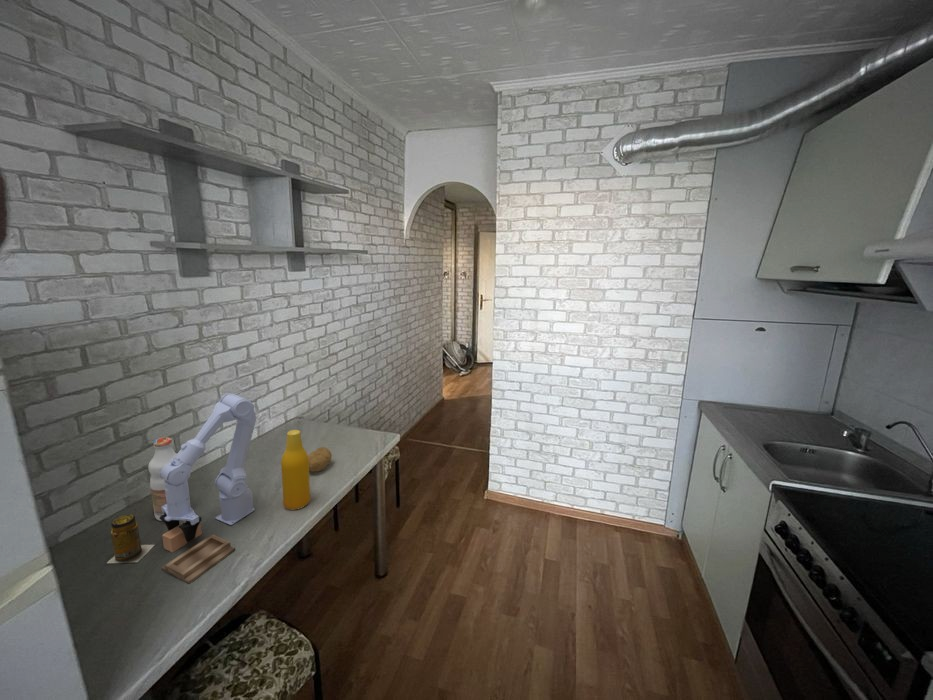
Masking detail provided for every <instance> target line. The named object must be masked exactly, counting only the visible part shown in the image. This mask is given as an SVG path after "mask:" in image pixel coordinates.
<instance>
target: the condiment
mask: <svg viewBox="0 0 933 700" xmlns="http://www.w3.org/2000/svg"><path fill="white" fill-rule="evenodd" d="M110 525H111V532H110V537H111V544H112V547H113V553H114V555H113V556H112V557H111V558H110V559H109V560H108V561H107V562H106V564H124V563H125V564H126V563H129V564H130V563H139V562H140V561H141V560H142V559H143V558H144V557H145V556H146V555H147V554H148V553H149V552H150V550H152V548H154V546H155V544H141V537H140V530H139V525H138V522H137V520H136V516H135V515H133V514H126V515H125V514H124V515H121V516H118V517H117V518H115V519H114V520H112V522H111V524H110Z"/></svg>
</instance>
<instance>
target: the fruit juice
mask: <svg viewBox="0 0 933 700" xmlns="http://www.w3.org/2000/svg"><path fill="white" fill-rule="evenodd" d="M172 444H173V440H172V438H171V437H160V438H157V439H155V440H153V443H152V445H153V448H154V455H153V457H152V458H151V460H149V463H148V467H147V468H148V469H147V470H148V472H149V474H150V477H149V478H150V479H149V486H150V492H151V499H152V500H151V501H152V506H153V514H154V517H155V519H156V520H157V521H159V522H163V521H162V520H161V519H160V516H162V515H164V512H162V508H161V507H162V506H164V505H166V504H167V502H166V494H165V484H164V479H163V478H161V477H160V475H159V473H161V469H162V468H163V467H164V465H166V464H167V463H169V462H170V461H171V459H173V458H174V457H175V456H176V455H177V453H178V452H175V450H174V448H173V446H172Z"/></svg>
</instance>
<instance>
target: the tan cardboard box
mask: <svg viewBox="0 0 933 700" xmlns="http://www.w3.org/2000/svg"><path fill="white" fill-rule="evenodd" d="M185 522H186V521H184V522H182V523H181V524H183V523H185ZM201 522H202V521H201ZM201 522H200V523H199V525H198V528H197V531H196V535H195V539H197V537H199V536H201V535H202V534H203V532H202V524H201ZM181 524H180V523H179V526H180V525H181ZM179 526H177V527H175V528H173V529H172V530H170V531H169V530H168V531H166V532H165V533H163V534H162V535H161V537H162V543H163V544H162V545H163V549H164V550H167V551H168V552H171V553H174V552H176V551H177V550H180V548H182V547H184V546H185V545H186V544H188V543H189V542H187V541H186V539H185V535H184V533H183V531H182V530H181V528H179Z"/></svg>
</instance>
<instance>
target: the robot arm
mask: <svg viewBox="0 0 933 700" xmlns="http://www.w3.org/2000/svg"><path fill="white" fill-rule="evenodd" d="M232 421H236V422H237V423H236V427H235V431H234V434H233V438H232V440H231V441H232V442H231V445H230V449H229V453H228V456H227V460H226V464H225V466H224V467H222V468H221V469H220V472H219V474H218V475H217V477H216V478H215V480H214V486H215V488H216V489H217V490H219V495H218V496H219V497H218V498H219V506H220V507H219V508H220V514H219V515H217V516H216V517H215V518H214V519H215V520H217V521H220V522H222V523H224V524H226V525H229V526H233V525H234V524H236V523H238V521H240V520H242V519H243V518H245V517H247V516H248V515H249V514H251V513H252V512H254V511H255V510H256V509H255V508H254V501H253V499H254V498H253V493H252V491H251V488H249V487H248V486H247V473H246V471H245V464H246V460H247V458H248V457H247V456H248V451H249V448H250V444H251V440H252V437H253V433H254V430H255V427H256V426H255V425H256V421H257V415H256V412H255V404H254V403H253V402H251V401H250V400H249V399H248V398H245V397H242V396H241V395H237V394H236V393H233V392H228V393H225V394H224V395H223V396H221V398H220V399H219V401H218V402H217V403H216V404H215V406H214V408H213V411H212V412H211V414H210V416H209V417H208V419H207V420H206V422H205V423H204V425H203V426H202V427H201V428H200V430H199V431H198V433H197V434H196V436H195V437H194V438H191V439H189V440H187V441H186V442H185V443H183V444H181V446H180V450H179V451H178V452H176V453H177V455H176V456H175V457H174V458H173V459H171V461H170V462H169V463H167V464H166V465H164V467H163V468H162V469H161V473H159V475H160V477H161V478H163V479H164V484H165V494H166V502H167V504H166V505H164V506H162V507H161V508H162V512H164V515H162V516H160V519H161V520H162V521H161V522H163V524H164V525H165V526H166V528H167V530H168V531H170V530H172V529H173V528H175V527H177V526H179V525H180V521H182V523H183V524H182V523H181V525H180V526H179V528H181V530H182V531H183V533H184V535H185V539H186V541H187V542H188V543H190V542H192V541H193V540H195V539H196V538H195V535H196V531H197V528H198V525H199V523H200V522H202V517H200V516H199V515H197V514H196V513H195V511H194V509H193V507H191V499H190V489H189V482H188V480H189V478H190V477H191V473H192V472H191V471H192V469H193V467H194V465H195V464H196V462H197V461H198V460H199V458H200V457H201V456H202V454H203V453H204V452H205V451H206V443H208V441H209V440H210V439H211V438H212V436H214V434H215V433H216V432H217V431H218V430H219V428H221V427H222V425H223V424H224V423H228V422H232ZM183 521H184V522H185V521H186V522H185V523H184V522H183Z"/></svg>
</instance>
